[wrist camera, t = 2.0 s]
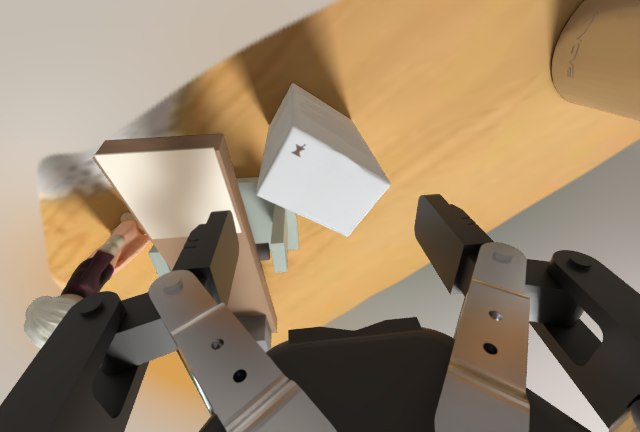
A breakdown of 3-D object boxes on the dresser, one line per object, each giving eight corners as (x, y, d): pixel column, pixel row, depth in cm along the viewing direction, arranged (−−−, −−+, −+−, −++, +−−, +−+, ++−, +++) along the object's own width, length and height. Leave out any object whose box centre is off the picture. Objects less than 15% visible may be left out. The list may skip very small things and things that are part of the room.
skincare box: (267, 127, 25) (250, 195, 15) (292, 80, 23) (291, 121, 13) (327, 161, 27) (348, 240, 17) (354, 120, 25) (395, 182, 15)
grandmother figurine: (142, 260, 31) (64, 380, 21) (102, 246, 30) (-2, 366, 19) (166, 206, 28) (89, 315, 18) (123, 188, 27) (12, 293, 16)
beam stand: (292, 174, 28) (292, 214, 22) (298, 243, 32) (300, 292, 26) (160, 183, 27) (123, 226, 21) (185, 251, 31) (159, 303, 25)
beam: (238, 115, 16) (225, 177, 13) (283, 306, 33) (283, 355, 30) (100, 123, 16) (47, 189, 12) (216, 312, 33) (208, 362, 30)
